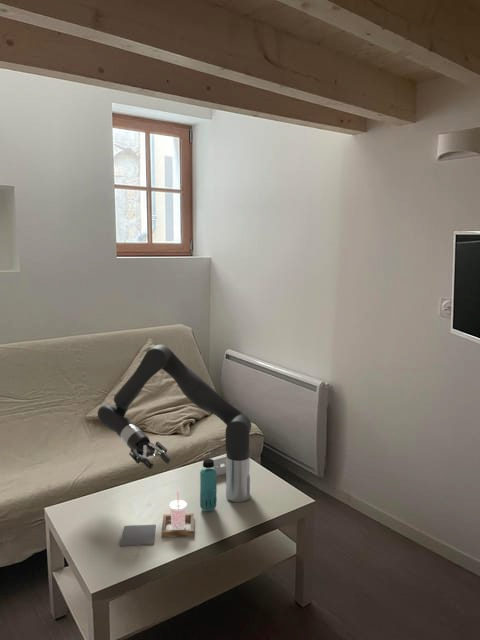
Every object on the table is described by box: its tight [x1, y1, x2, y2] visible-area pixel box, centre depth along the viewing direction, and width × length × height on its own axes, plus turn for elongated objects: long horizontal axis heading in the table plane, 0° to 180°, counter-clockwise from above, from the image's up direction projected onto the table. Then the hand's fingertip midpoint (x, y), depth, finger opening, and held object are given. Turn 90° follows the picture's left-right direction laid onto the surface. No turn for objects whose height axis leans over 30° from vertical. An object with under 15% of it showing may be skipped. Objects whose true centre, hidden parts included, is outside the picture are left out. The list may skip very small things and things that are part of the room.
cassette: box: [211, 455, 227, 477], centre depth 215 cm, size 12×2×8 cm, turn 123°
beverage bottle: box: [199, 458, 218, 512], centre depth 184 cm, size 6×7×20 cm
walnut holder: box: [161, 513, 195, 539], centre depth 174 cm, size 11×11×2 cm
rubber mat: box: [119, 524, 157, 547], centre depth 169 cm, size 11×11×1 cm
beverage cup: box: [168, 490, 187, 530], centre depth 173 cm, size 6×6×14 cm
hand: (160, 464), depth 180 cm, fingers open, 8 cm apart
